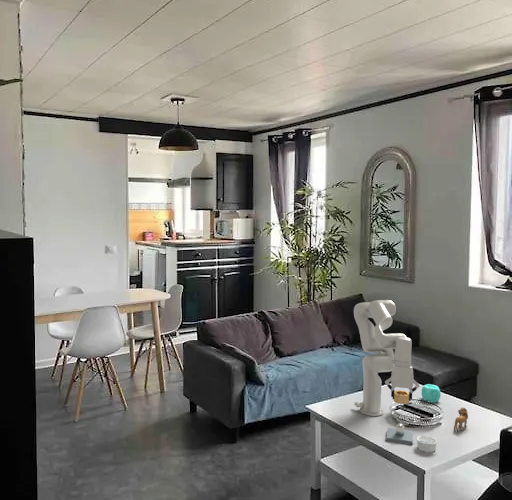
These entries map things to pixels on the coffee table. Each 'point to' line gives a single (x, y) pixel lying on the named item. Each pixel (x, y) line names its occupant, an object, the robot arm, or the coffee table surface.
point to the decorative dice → (431, 393)
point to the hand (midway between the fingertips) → (401, 399)
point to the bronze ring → (401, 397)
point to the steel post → (399, 429)
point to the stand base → (400, 439)
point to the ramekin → (426, 443)
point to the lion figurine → (461, 418)
